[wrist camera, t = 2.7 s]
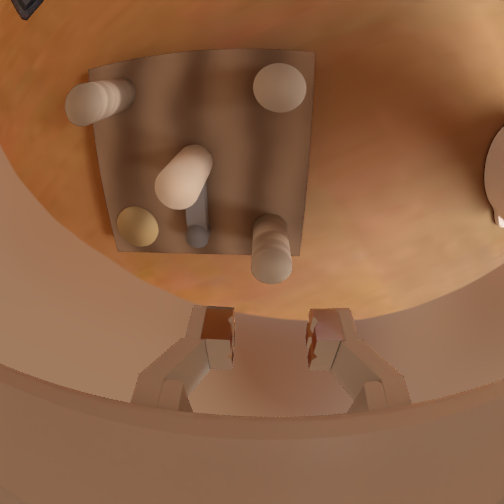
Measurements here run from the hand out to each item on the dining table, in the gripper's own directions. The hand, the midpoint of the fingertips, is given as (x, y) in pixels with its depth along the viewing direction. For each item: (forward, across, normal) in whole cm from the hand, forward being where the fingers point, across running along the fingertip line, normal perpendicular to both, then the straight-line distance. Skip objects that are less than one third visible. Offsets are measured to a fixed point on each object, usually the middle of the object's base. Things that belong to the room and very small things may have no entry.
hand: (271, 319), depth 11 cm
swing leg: (+20, -7, -3) cm, 21 cm away
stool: (+23, -7, 0) cm, 24 cm away
